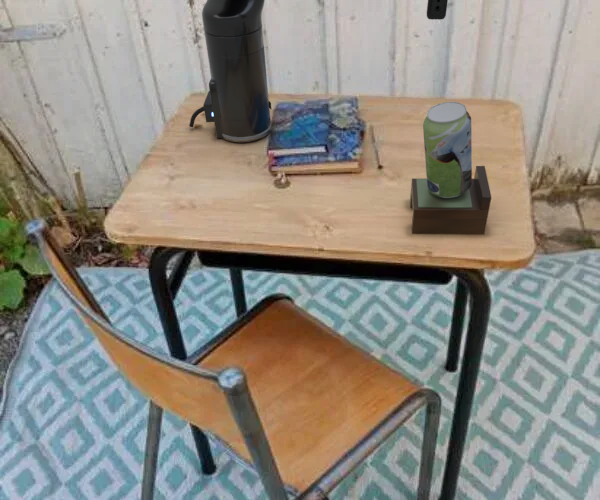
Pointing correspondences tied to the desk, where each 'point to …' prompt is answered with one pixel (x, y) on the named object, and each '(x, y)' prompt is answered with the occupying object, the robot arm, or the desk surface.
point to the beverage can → (448, 149)
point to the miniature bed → (451, 208)
